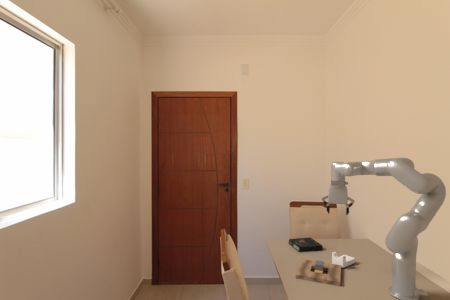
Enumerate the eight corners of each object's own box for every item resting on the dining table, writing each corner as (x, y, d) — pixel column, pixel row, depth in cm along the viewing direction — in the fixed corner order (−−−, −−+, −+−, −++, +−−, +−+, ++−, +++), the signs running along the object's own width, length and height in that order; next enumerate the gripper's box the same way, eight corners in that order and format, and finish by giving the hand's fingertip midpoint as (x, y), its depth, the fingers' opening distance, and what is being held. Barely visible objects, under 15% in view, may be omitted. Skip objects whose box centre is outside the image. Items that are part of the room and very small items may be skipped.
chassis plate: (341, 268, 165) (341, 265, 165) (340, 286, 145) (340, 282, 145) (302, 262, 174) (302, 259, 174) (295, 278, 154) (295, 274, 154)
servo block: (323, 270, 163) (324, 259, 163) (322, 277, 154) (322, 266, 154) (316, 269, 165) (316, 258, 165) (314, 276, 156) (314, 265, 155)
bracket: (342, 269, 165) (343, 256, 164) (332, 265, 170) (332, 252, 170) (355, 264, 172) (355, 251, 172) (344, 260, 178) (344, 248, 178)
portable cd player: (288, 244, 206) (288, 239, 206) (310, 242, 209) (310, 237, 209) (298, 253, 190) (298, 247, 190) (322, 251, 193) (322, 245, 193)
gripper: (354, 183, 162) (354, 213, 162) (322, 182, 169) (322, 210, 169) (354, 185, 155) (354, 216, 156) (321, 183, 162) (321, 213, 162)
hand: (337, 213), depth 162 cm, fingers open, 9 cm apart
